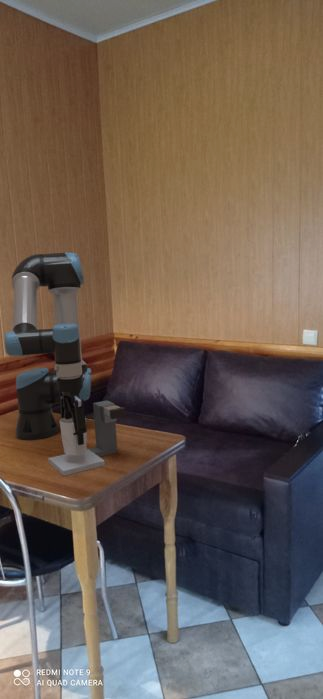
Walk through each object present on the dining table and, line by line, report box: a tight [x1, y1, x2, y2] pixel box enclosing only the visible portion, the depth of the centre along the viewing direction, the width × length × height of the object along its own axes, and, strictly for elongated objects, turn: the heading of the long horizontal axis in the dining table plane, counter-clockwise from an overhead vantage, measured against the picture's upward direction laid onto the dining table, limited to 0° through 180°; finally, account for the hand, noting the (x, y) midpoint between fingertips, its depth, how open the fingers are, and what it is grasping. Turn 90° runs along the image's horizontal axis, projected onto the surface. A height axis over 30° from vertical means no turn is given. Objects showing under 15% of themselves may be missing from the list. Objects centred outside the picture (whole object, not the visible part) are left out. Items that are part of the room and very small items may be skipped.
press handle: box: [101, 403, 127, 423], centre depth 163 cm, size 8×4×5 cm, turn 31°
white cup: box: [58, 416, 88, 455], centre depth 160 cm, size 8×8×10 cm
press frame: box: [48, 400, 118, 477], centre depth 162 cm, size 13×21×16 cm, turn 121°
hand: (75, 450), depth 161 cm, fingers closed on white cup, 7 cm apart
